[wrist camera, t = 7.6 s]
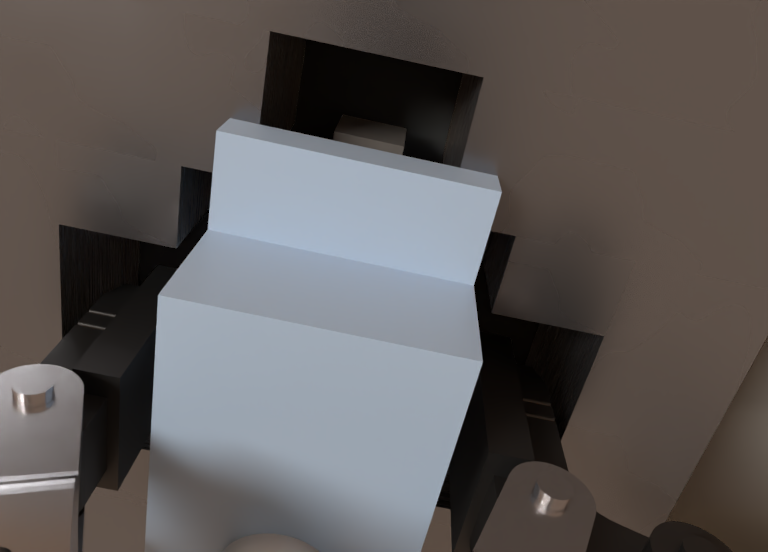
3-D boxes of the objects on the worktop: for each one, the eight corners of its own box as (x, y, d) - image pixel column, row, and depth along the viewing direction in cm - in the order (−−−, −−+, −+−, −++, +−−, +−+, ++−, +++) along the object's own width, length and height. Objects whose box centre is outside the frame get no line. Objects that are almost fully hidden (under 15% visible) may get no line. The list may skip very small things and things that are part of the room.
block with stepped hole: (3, -205, 11) (-163, -259, 8) (814, -22, 12) (955, -5, 8) (40, 493, 18) (-39, 606, 15) (537, 588, 19) (558, 717, 16)
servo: (276, 75, 13) (118, 219, 6) (482, 120, 13) (533, 306, 6) (231, 436, 17) (108, 745, 10) (387, 467, 17) (361, 792, 11)
